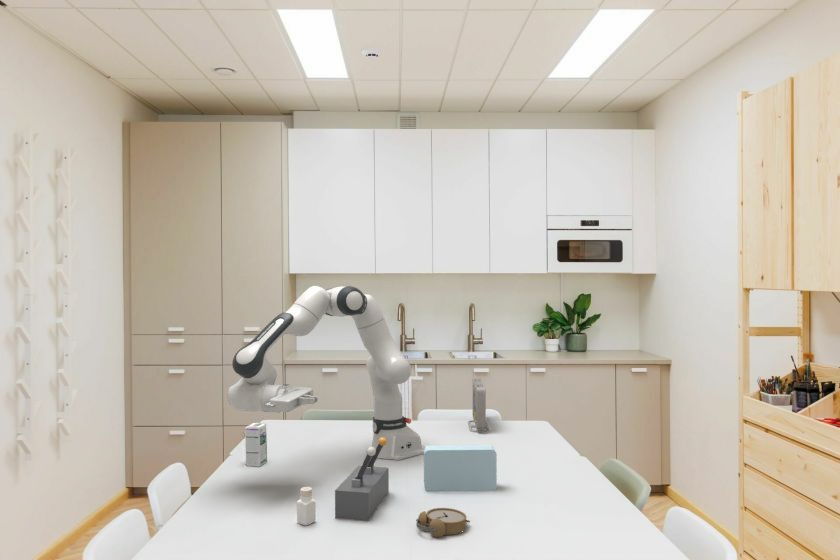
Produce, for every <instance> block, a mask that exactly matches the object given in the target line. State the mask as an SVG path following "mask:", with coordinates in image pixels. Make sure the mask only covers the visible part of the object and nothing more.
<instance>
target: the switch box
mask: <svg viewBox="0 0 840 560" xmlns="http://www.w3.org/2000/svg"><path fill="white" fill-rule="evenodd" d="M374 465H375V464H374ZM374 465H373V467H372V468H371V467H367V468H366V471H365V473H364V475H363V477H362V479H361V481H360V479H356V477H357V475H358V473H359V471H360V469H361V466H362V465H358V466H357V467H355V469H354V470H353V471H352V472H351V473H350V474H349V475H347V477H346V478H345V479H344V480H343V481H342V482H341V483H340V484H339V485H338V487H337V488H336V489H335V490H334V506H335V507H334V519H343V520H353V521H354V520H355V521H364V522H369V521H370V520H371V518H372V517H373V515H374V514H375V512H376V511H377V510H378V508H379V507H380V505H381V504H382V502H383V501H384V500H385V498H386V497H387V496H388V495H389V492H390V488H389V487H390V485H389V484H390V483H389V479H390V478H389V477H390V476H389V475H390V474H389V472H390V471H389V467H386V466H384V467H383V466H374Z"/></svg>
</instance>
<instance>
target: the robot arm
mask: <svg viewBox="0 0 840 560" xmlns="http://www.w3.org/2000/svg"><path fill="white" fill-rule="evenodd" d="M324 315H326V316H330V317H341V318H342V317H346V316H349V317H350V316H351V318H352V319H353V321H354V323H355V326H356V329H357V331H358V334H359V336H360V340H361V341H362V344H363V346H364V348H365V349H366V351H367V352H368V353H369V356H368V358H367V359H366V362H365V363H366V370H367V372H368V374H369V377H370V384H371V389H372V394H373V395H372V396H373V417H372V432H373V434H372V441H371V442H372V443H371V447H374V448H375V450H376V448H377V446H378V444H379V439H380V438H381V437H384V438H386V440H387V443H386V445H384V446H383V447H382V449H381V451H380V453H379V455H378V457H377V459H385V460H389V459H390V460H395V461H400V460H404V459H408V458H412V457H415V456H419V455H424V448H425V447H426V446H425V445H423V444H422V439H421V436H420V435H419V433H417V432H416V431H415V430H414V429H412V428H411V427H410V426H408V424H411V423H412V419H411V418H410V417H405V416H403V396H402V393H401V391H400V387H399V385H402V384H404V383H406V382H407V381H408V380H409V379H410V377H411V373H412V369H411V368H412V367H411V365H410V362H409V361H407V359H406V358H405V357H404V355H403V354H402V351H401V350H400V348H399V347H398V345H397V344H396V341H395V339H394V338H393V336H392V334H391V332H390V330H389V326H388V325H387V322H386V319H385V317H384V313H383V312H382V310H381V307H380V306H379V304H378V302H377V301H376V299H375V298H374V296H373V295H371V294H368V293H367V294H366V293H363V292H362V290H360V289H359V288H357V287H355V286H351V285H348V286H337V287H333V288H332V287H330V288H327V289H325V288H323V286H322V287H321V286H318V285H312V286H310V287H309V288H307V289H306V290H304V292H303V293H302V294H301V295H299V297H297V299H296V300H295V301H294V303H292V305H291V306H290V307H289V308H288V309H287V310H286V311H285V312H281V313H279V314H278V315H276V316H275V317H274V318H273V319H272V320H271V321H270V322H269V323H268V324H267V325H266V326H265V327H264V328H263V329H261V331H260V332H259V333H258V334H257V335H256V336H255V337H254V338H253V339H252V340H251V341H249V342H248V343H247V344H246V345H244V346H243V347H241V348H240V349H239V350H237V352H235V355H234V357H232V358H233V359H232V369H233V371H234V372H235V374H237V375H238V376H240V377H241V378H240V379H239V380H238V381H237V382H236V383H234V384H232V385H231V386H229V387H228V392H227V399H228V400H227V401H228V404H229V405H230V406H231V407H232V409H233V410H234V409H235V410H238V411H242V412H243V411H244V412H257V411H258V412H259V411H260V412H263V413H274V414H275V413H277V414H279V413H289V412H291V411H293V410H296V409H297V408H299V407H301V406H304V405H314V404H315V403H317V402H318V396H315V395H314V389H313V388H311V387H305V386H297V385H293V386H292V384H288V383H285V384H275V382H276V380H277V376H278V375H277V369H276V368H275V366H274V365H273V364H272V363H271V362H270V361H269V359H267V357H266V356H267V353H268V351H269V350H270V349H271V348H272V347H273V346H274V345H275V344H276V343H277V342H278V341H279V340H280V338H282V337H283V336H285V335H290V336H295V337H303V336H307V335H309V334H310V333H311V332H312V331H313V330H314V329H315V327H316V326H317V325H318V324H319V322H320V321H321V319H322V318H323V317H324Z"/></svg>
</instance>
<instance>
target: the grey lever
mask: <svg viewBox="0 0 840 560" xmlns="http://www.w3.org/2000/svg"><path fill="white" fill-rule="evenodd" d="M375 453H376V450H375V448H374V447H372V446H369V447H368V448H367V450H366V455H365V458H364V460H363V462H362V464H361V465H360V466H361V469H360V471H359V473H358V475H357V477H356V479H360V481H361V479H362V477H363V475H364V473H365V471H366V468H367V466H368V464H369V462H370V460H371V458H372V456H373V455H375Z"/></svg>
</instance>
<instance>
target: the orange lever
mask: <svg viewBox="0 0 840 560" xmlns="http://www.w3.org/2000/svg"><path fill="white" fill-rule="evenodd" d="M386 443H387V440H386V438H384V437H381V438H380V439H379V444H378V446H377V448H376V453H375V455H373V456H372V458H371V460H370V462H369V464H368V466H367V467H371V468H372V467H373V465H375V463H376V461H377V459H378V458H377V457H378V455H379V453H380V451H381V449H382V447H383V446H384V445H386Z"/></svg>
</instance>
